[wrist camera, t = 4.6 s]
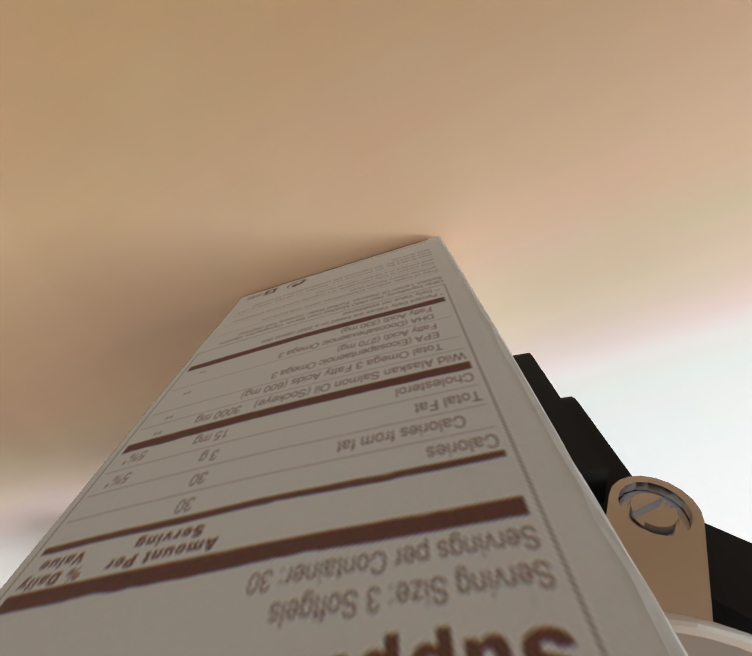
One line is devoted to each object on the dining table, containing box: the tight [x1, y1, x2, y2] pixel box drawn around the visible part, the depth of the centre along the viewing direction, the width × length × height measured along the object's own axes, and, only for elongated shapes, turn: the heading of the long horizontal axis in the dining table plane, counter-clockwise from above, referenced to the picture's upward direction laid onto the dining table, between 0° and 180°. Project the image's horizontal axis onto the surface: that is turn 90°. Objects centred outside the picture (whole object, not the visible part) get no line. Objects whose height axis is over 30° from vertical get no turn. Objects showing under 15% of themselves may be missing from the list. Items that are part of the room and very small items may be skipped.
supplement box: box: [0, 236, 688, 656], centre depth 9 cm, size 7×7×13 cm
